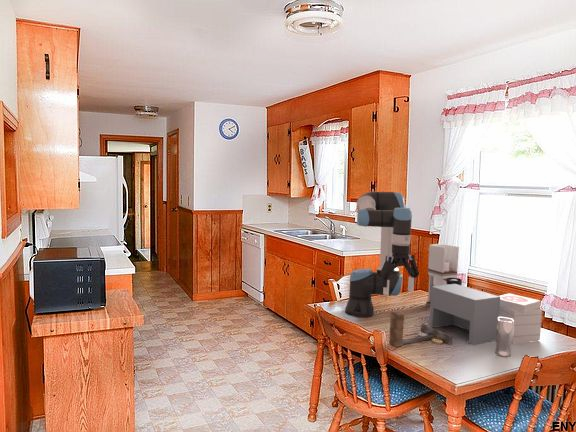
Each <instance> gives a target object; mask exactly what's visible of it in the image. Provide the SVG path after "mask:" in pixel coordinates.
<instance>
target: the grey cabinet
mask: <svg viewBox="0 0 576 432" xmlns="http://www.w3.org/2000/svg"><path fill="white" fill-rule="evenodd" d="M499 296H500V295H495V294H492V293H489V292H485V291H481V290H478V289H475V288H472V287H469V286H468V287H467V286H463V285H462V286H461V285H458V284H449V285H440V286H431V303H430V306H429V324H428V326H429V327H431V328H434V329H436V328H440V327H445V326H446V327H447V326H452V325H454V326H456V327H459V328H462V329H464V330H466V331H468V332H469V334H468V344H470V345H472V346H474V345H477V344H479V345H480V344H482V343H487V342H489V343H490V342H493V341H496V333H495V328H496V321H497V318H498V317H499V308H500V297H499Z"/></svg>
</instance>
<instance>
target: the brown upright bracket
mask: <svg viewBox="0 0 576 432" xmlns="http://www.w3.org/2000/svg"><path fill="white" fill-rule="evenodd" d="M404 320H405V314H404V313H403V312H401V311H399V310H393V311H392V310H391V311H390V321H389V339H388V341H389V342H388V343H389V344H390V345H392V346H394V347H397V348H399V347H403V345H405V344H412V343H417V342H421V341H428V340H432V338H433V337H439V338H442V339H443V340H444V342H443V343H445V344H448V345H452V344H453V336H452V335H450V334H448V333H445V332H443V331H441V330H438V329H436V328H431V327H429V325H426V324H424V323H420V327H419V328H420V329H419V331H425V332H428V333H429V335H428V336H422V337H419V336H417V337H412V338H407V339H406V338H404V322H405V321H404Z"/></svg>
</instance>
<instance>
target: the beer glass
mask: <svg viewBox="0 0 576 432" xmlns="http://www.w3.org/2000/svg"><path fill="white" fill-rule="evenodd" d="M495 333H496V340H495V341H496V347H495V351H494V355H496V356H498V357H502V358H510V357H511V356H512V353H511V346H512V343H511V342H512V339H513V335H514V320H513V319H511V318H506V317H498V318H497V321H496V328H495Z"/></svg>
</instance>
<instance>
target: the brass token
mask: <svg viewBox="0 0 576 432" xmlns="http://www.w3.org/2000/svg"><path fill="white" fill-rule="evenodd" d="M431 343H432V344H435V343H436V345H442V344H444V343H445V342H444V340H443V339H442V338H439V337H433V338H432V339H431Z"/></svg>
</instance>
